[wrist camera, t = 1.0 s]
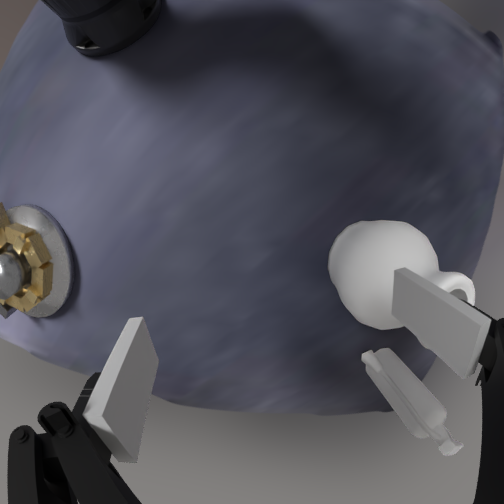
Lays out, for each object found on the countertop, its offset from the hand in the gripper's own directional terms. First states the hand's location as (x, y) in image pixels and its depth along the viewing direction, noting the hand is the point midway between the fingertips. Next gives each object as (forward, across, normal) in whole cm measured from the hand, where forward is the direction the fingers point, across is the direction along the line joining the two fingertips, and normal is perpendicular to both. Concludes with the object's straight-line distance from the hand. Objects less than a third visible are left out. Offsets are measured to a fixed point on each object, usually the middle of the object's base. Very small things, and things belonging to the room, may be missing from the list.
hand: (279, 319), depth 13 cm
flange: (+25, -34, +1) cm, 42 cm away
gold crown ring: (+23, -35, +3) cm, 41 cm away
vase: (+25, +18, -8) cm, 32 cm away
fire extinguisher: (+25, +22, -29) cm, 44 cm away
